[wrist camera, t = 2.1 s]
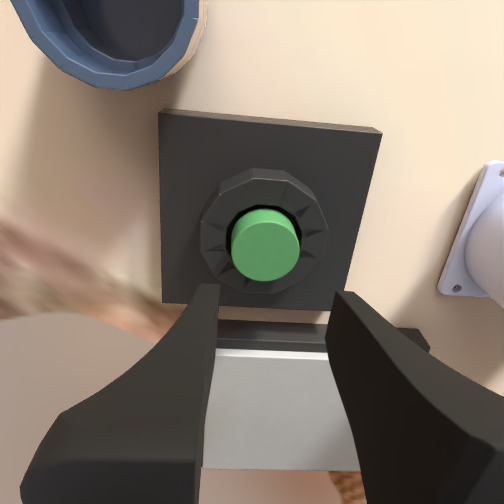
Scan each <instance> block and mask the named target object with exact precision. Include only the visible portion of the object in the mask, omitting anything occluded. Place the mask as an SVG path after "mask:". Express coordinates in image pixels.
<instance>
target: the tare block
mask: <svg viewBox="0 0 504 504" xmlns="http://www.w3.org/2000/svg"><path fill="white" fill-rule="evenodd" d="M158 130H159V177H160V224H161V271H162V303H177V304H189V302H190V301H191V299H192V297H193V296H194V294H195V292H196V290H197V287H198V286H199V285H200V284H201V283H204V284H220V293H219V306H237V307H257V308H277V309H297V310H317V311H331V308H332V304H333V300H334V296H335V291H344V288H345V284H346V280H347V276H348V272H349V268H350V264H351V260H352V256H353V251H354V247H355V243H356V239H357V235H358V231H359V227H360V223H361V219H362V215H363V211H364V207H365V203H366V199H367V195H368V191H369V187H370V183H371V179H372V175H373V170H374V166H375V162H376V158H377V154H378V150H379V146H380V142H381V138H382V133H381V132H380V131H378V130H376V129H374V128H372V127H362V126H351V125H340V124H329V123H318V122H307V121H296V120H285V119H274V118H263V117H252V116H241V115H230V114H219V113H209V112H198V111H187V110H176V109H165V108H164V109H163V110H161V111H160V112H159V113H158ZM261 208H268V209H273V210H276V211H279V212H281V213H282V214H284V215H285V216H286V217H287V218H288V219H289V220H290V221H291V223H292V225H293V228H294V230H295V233H296V236H297V239H298V242H299V248H300V251H299V257H298V260H297V262H296V264H295V266H294V267H293V268H292V270H291V271H290V272H289V273H287V274H286V275H284V276H283V277H281V278H279V279H276V280H272V281H256V280H253V279H250V278H248V277H246V276H244V275H243V274H242V273H241V272H239V270H238V269H237V268H236V267H235V265H234V263H233V260H232V256H231V236H232V231H233V228H234V226H235V224H236V222H237V221H238V220H239V219H240V218H241V217H242V216H243V215H244V214H246V213H248V212H250V211H252V210H255V209H261Z"/></svg>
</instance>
